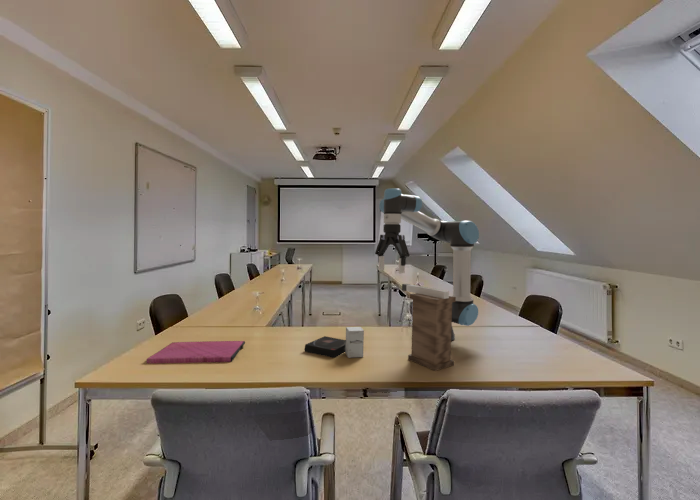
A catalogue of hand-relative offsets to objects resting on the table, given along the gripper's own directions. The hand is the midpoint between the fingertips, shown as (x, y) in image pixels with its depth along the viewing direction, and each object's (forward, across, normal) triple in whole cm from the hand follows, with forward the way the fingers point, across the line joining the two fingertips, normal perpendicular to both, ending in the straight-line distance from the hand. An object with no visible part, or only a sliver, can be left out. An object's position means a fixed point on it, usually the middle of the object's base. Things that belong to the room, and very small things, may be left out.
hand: (391, 271), depth 156 cm
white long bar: (+10, +6, +15) cm, 19 cm away
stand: (+40, +11, +15) cm, 44 cm away
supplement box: (+40, -15, -9) cm, 44 cm away
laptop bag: (+41, -55, -67) cm, 96 cm away
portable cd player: (+41, -27, -15) cm, 52 cm away
